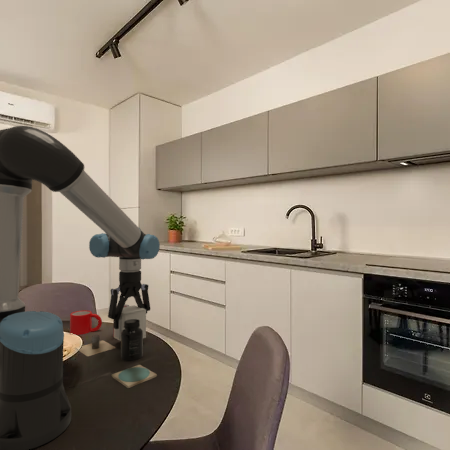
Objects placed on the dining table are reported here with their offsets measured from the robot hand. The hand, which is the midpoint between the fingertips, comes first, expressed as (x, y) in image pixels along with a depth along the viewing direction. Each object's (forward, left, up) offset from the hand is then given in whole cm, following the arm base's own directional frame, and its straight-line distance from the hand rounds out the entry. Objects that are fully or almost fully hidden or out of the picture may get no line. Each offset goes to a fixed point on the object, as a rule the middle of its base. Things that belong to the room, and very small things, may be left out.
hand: (129, 334), depth 112 cm
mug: (-5, +24, -4) cm, 25 cm away
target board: (-11, -22, -4) cm, 25 cm away
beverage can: (+2, +9, -4) cm, 10 cm away
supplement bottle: (-5, -10, -4) cm, 12 cm away
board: (-10, +5, -4) cm, 12 cm away
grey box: (0, 0, -1) cm, 1 cm away
